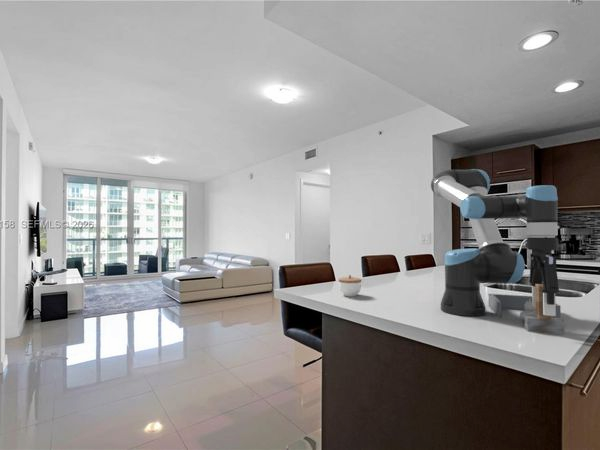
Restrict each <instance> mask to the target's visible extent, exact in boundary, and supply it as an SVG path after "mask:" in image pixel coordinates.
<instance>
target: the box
mask: <svg viewBox="0 0 600 450" xmlns="http://www.w3.org/2000/svg"><path fill="white" fill-rule="evenodd" d="M529 299H530V300H531V302H532V295H518V294H499V293H488V307H489V308H490V309H491V310H492V311H493V312H494V314H495V316H497V317H502V309H504V308H505V309H514V310H516V309H517V310H525V308H524V304H525V303H526V301H528V302H529ZM555 304H556V316H551V318H560V319H562V318H561V314H562V313H561V311H562V309H561V305H560V304H557V303H556V302H555Z"/></svg>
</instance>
